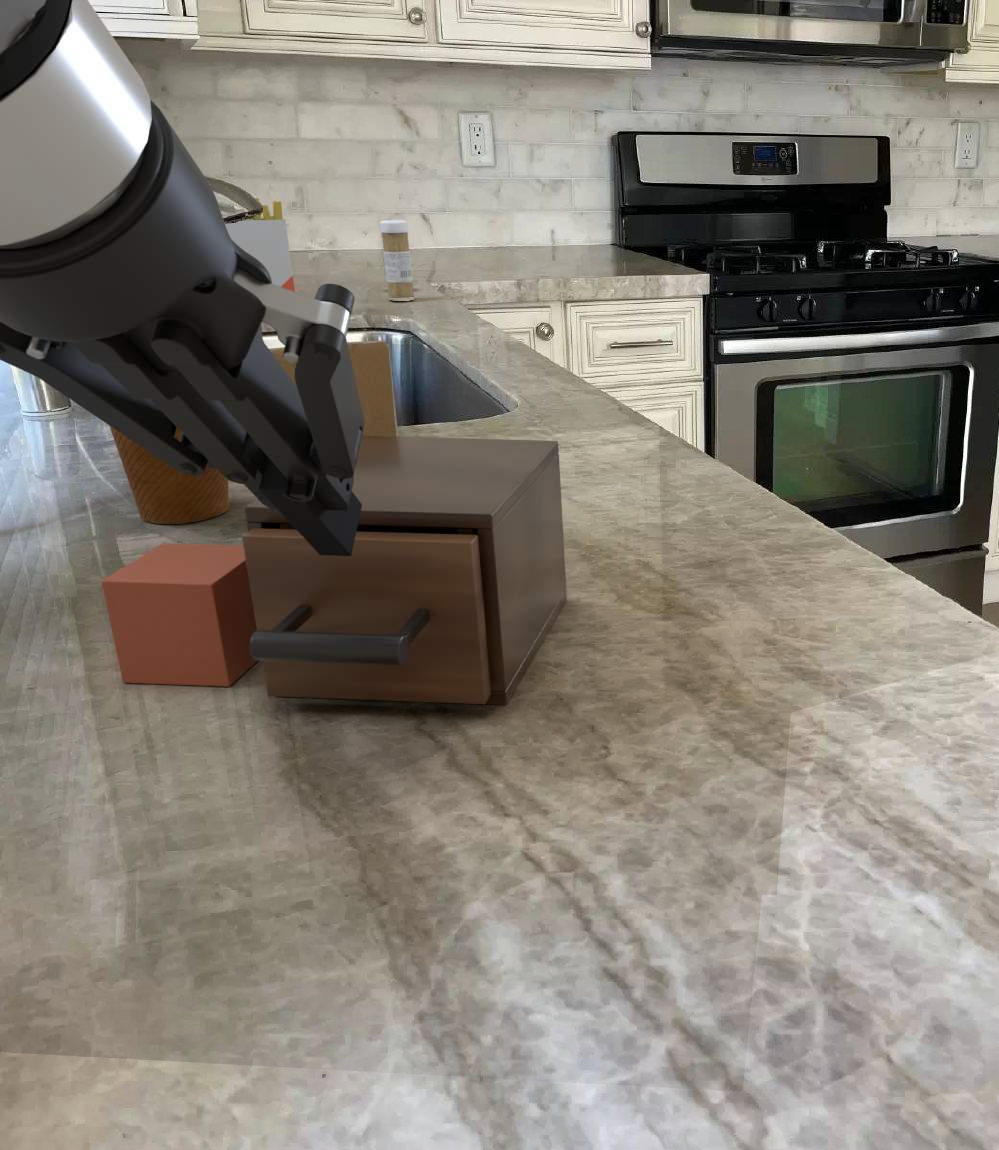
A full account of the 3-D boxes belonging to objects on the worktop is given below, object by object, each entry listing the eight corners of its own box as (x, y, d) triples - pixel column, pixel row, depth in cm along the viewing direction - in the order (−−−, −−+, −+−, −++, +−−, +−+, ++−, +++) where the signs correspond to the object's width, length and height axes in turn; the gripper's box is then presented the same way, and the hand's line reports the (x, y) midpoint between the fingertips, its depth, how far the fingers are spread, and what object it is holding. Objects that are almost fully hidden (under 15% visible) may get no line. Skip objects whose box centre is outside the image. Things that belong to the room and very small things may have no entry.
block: (122, 683, 62) (100, 580, 60) (181, 637, 68) (162, 542, 66) (229, 687, 62) (211, 584, 60) (279, 641, 68) (264, 545, 65)
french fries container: (219, 317, 180) (200, 197, 174) (291, 312, 186) (276, 196, 179) (224, 321, 177) (205, 199, 170) (298, 316, 182) (282, 197, 176)
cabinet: (506, 705, 60) (491, 514, 57) (273, 696, 61) (243, 507, 57) (567, 600, 74) (558, 440, 70) (376, 593, 75) (356, 435, 71)
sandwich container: (378, 491, 95) (357, 309, 90) (412, 548, 83) (391, 339, 77) (267, 504, 92) (238, 314, 86) (285, 566, 79) (253, 348, 74)
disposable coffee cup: (239, 488, 96) (216, 344, 92) (261, 518, 88) (237, 363, 84) (111, 505, 91) (80, 354, 87) (123, 539, 84) (90, 376, 79)
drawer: (455, 753, 54) (438, 579, 51) (220, 743, 55) (188, 571, 51) (547, 603, 71) (538, 466, 68) (367, 597, 72) (350, 461, 68)
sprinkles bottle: (409, 298, 203) (401, 219, 198) (419, 301, 200) (411, 220, 195) (384, 300, 201) (375, 220, 196) (393, 303, 197) (385, 221, 192)
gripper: (-247, 261, 31) (186, 599, 53) (222, 268, 30) (465, 607, 52) (-145, 59, 34) (225, 456, 56) (283, 61, 33) (489, 463, 55)
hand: (341, 529), depth 54 cm, fingers closed
